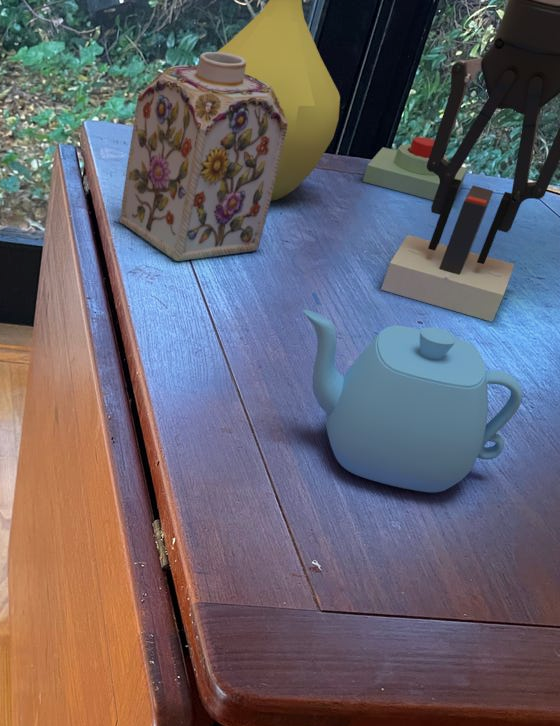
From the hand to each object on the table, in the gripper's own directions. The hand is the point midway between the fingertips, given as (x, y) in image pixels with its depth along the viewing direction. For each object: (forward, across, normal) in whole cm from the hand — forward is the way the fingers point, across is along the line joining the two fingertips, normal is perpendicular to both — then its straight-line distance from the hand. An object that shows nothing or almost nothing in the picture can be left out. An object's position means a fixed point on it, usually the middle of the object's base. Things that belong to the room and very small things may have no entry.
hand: (457, 252), depth 106 cm
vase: (+4, -28, +15) cm, 32 cm away
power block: (+4, -10, +35) cm, 37 cm away
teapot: (+4, +1, -39) cm, 39 cm away
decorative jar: (+4, -28, -6) cm, 29 cm away
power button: (0, -10, +35) cm, 36 cm away
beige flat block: (+4, 0, 0) cm, 4 cm away
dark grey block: (+1, 0, 0) cm, 1 cm away
